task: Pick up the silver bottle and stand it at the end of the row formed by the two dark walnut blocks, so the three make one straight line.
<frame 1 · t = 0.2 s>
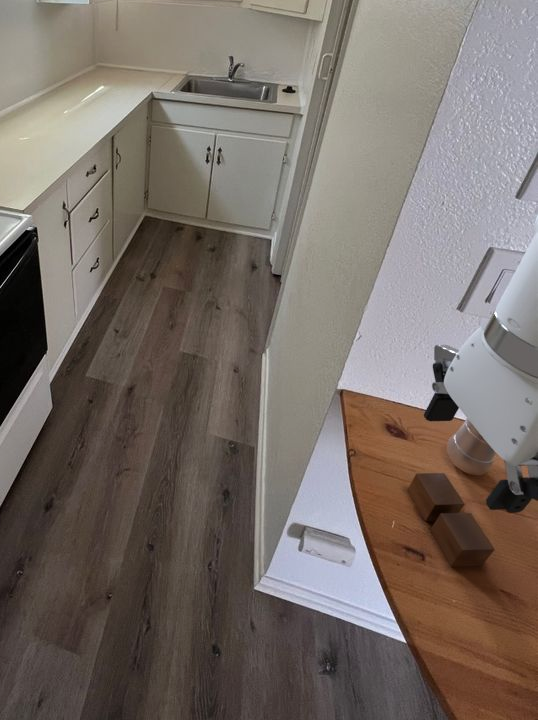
hand: (466, 458, 47), 30 cm above the table, tool pointing down, fingers open, 9 cm apart
silver bottle: (463, 462, 78), on the table
walnut block 1: (429, 505, 71), on the table
walnut block 2: (455, 547, 66), on the table
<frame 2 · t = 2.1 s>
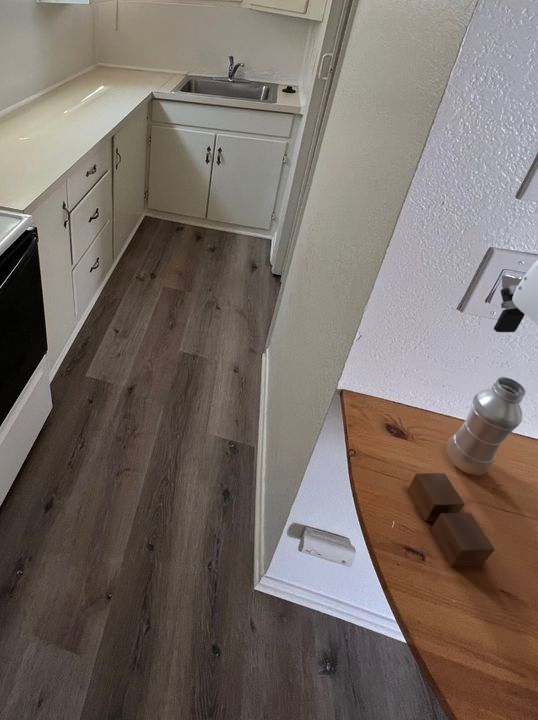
hand: (529, 354, 65), 27 cm above the table, tool pointing down, fingers open, 9 cm apart
nothing on the table moved.
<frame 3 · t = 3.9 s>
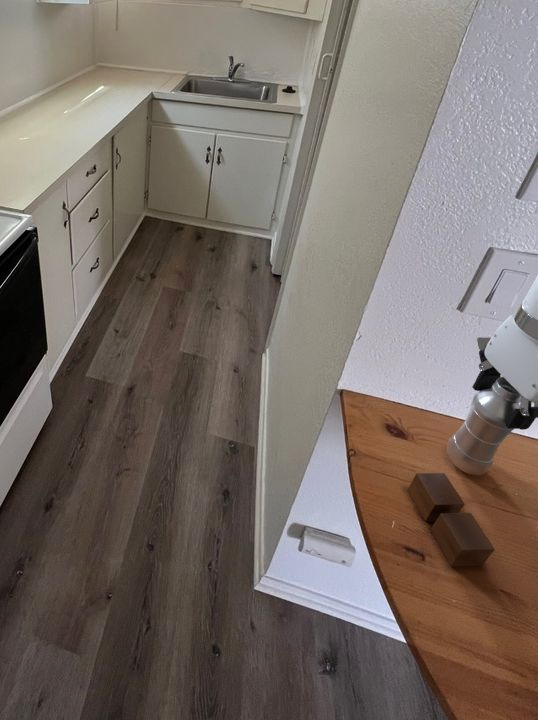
hand: (498, 406, 71), 15 cm above the table, tool pointing down, fingers closed on silver bottle, 6 cm apart
silver bottle: (463, 462, 78), on the table, touching gripper
everything else where it was.
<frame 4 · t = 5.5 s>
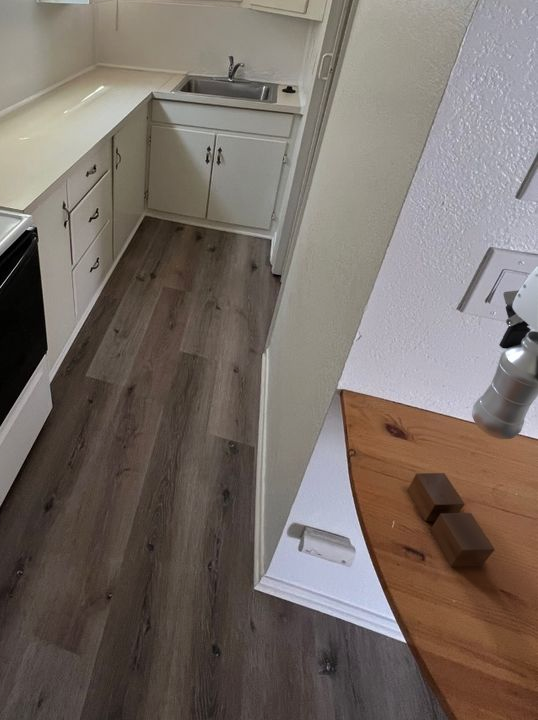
hand: (528, 363, 66), 25 cm above the table, tool pointing down, fingers closed on silver bottle, 6 cm apart
silver bottle: (490, 428, 73), point 10 cm above the table, touching gripper
everything else where it was.
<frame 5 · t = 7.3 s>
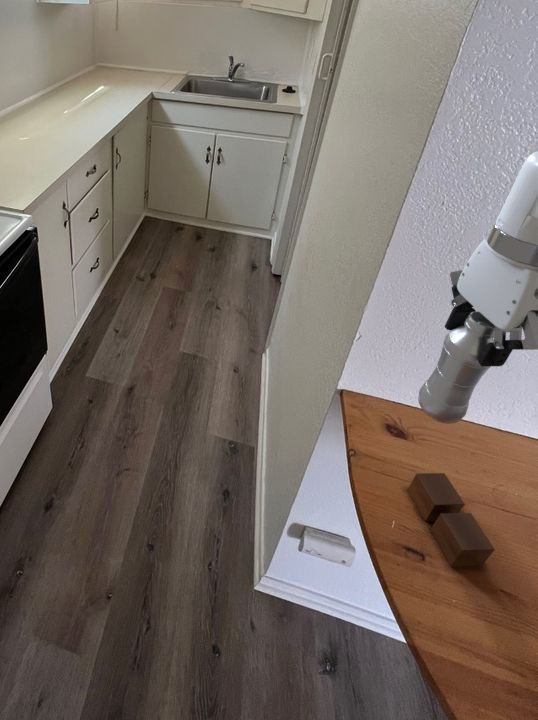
hand: (471, 345, 64), 29 cm above the table, tool pointing down, fingers closed on silver bottle, 6 cm apart
silver bottle: (436, 412, 71), point 14 cm above the table, touching gripper
everything else where it was.
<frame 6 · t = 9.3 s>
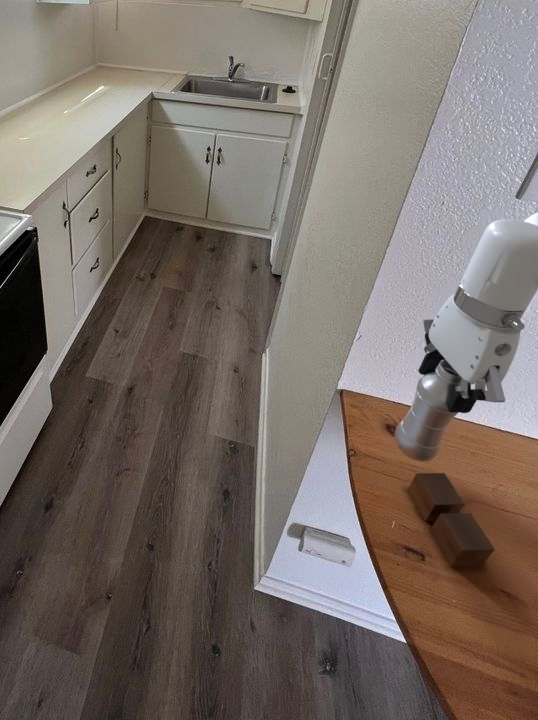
hand: (442, 390, 68), 19 cm above the table, tool pointing down, fingers closed on silver bottle, 6 cm apart
silver bottle: (411, 449, 75), point 4 cm above the table, touching gripper
everything else where it was.
when the fingers open (15 cm above the table, at t = 10.8 s): silver bottle stays where it is, on the table.
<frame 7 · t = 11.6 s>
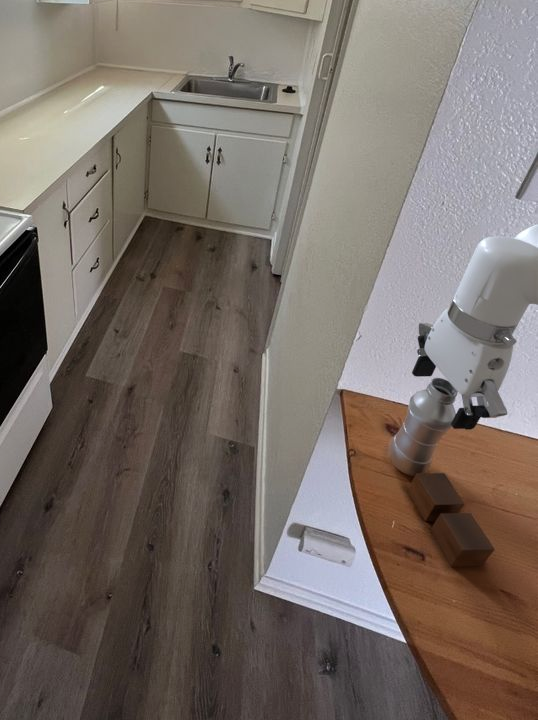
hand: (440, 399, 69), 17 cm above the table, tool pointing down, fingers open, 9 cm apart
silver bottle: (404, 463, 77), on the table
everything else where it was.
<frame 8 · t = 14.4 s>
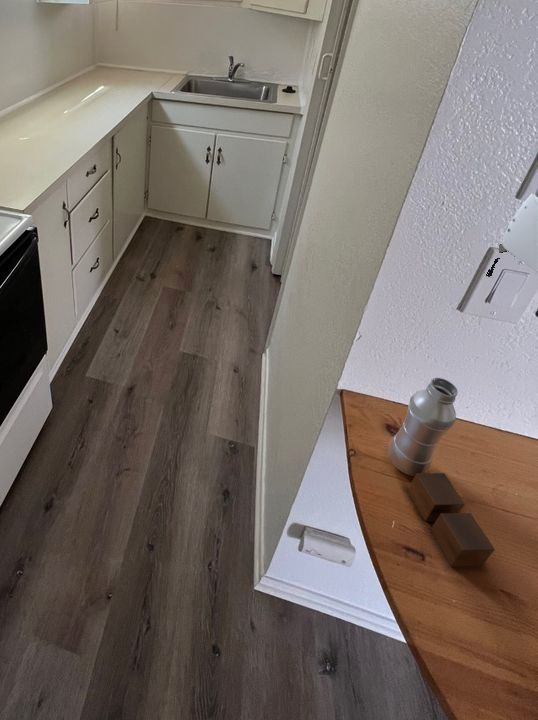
hand: (518, 295, 66), 34 cm above the table, tool pointing down, fingers open, 9 cm apart
nothing on the table moved.
at the end: silver bottle 0.1 cm from the target spot, on the table; silver bottle tilted 0°; walnut block 1 moved 0.0 cm from its start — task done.
